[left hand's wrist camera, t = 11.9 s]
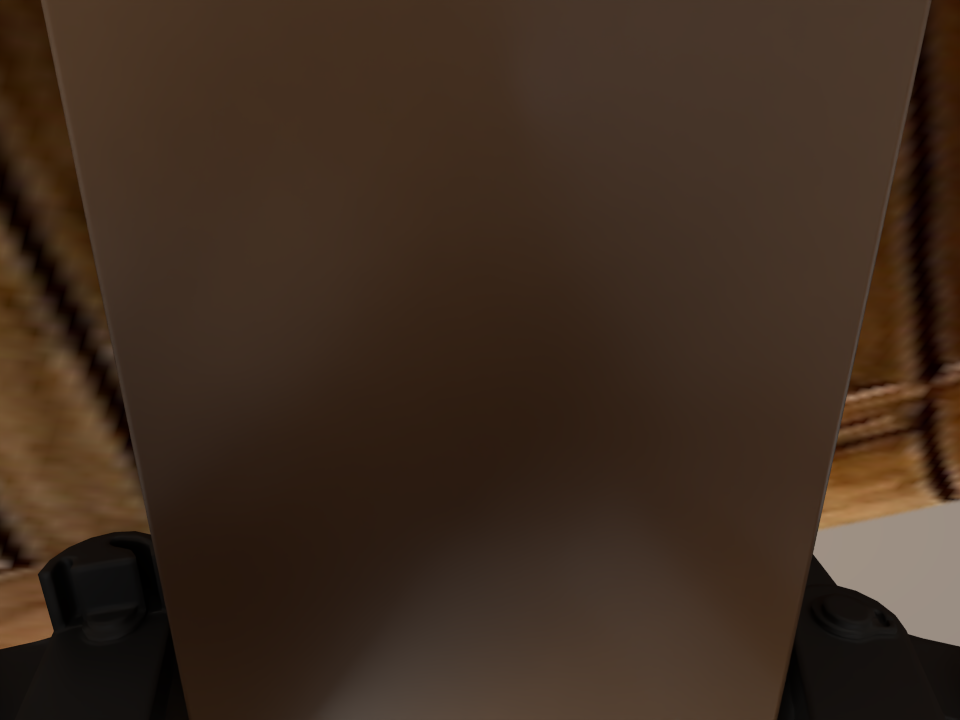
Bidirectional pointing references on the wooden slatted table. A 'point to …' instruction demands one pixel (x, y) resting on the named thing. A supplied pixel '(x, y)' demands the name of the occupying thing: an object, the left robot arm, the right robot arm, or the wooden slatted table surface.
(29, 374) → the wooden slatted table surface
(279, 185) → the bar
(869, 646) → the left robot arm
